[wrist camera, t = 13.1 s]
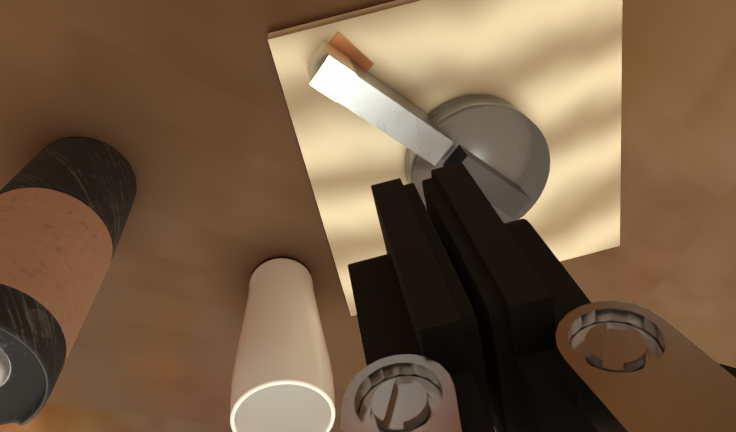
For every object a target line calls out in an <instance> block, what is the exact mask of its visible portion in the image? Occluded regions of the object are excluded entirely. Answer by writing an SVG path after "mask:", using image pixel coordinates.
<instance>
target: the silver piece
mask: <svg viewBox="0 0 736 432" xmlns="http://www.w3.org/2000/svg"><path fill="white" fill-rule="evenodd" d="M306 68H307V74H308V79H309V85H311V86H312V87H314V88H315V89H317V90H318V91H320V92H321V93H323V94H324V95H326V96H328V97H329V98H331V99H332V100H334V101H335V102H338V103H340V104H342V105H343V106H345V107H346V108H348V109H349V110H351V111H352V112H354V113H355V114H357V115H358V116H360V117H361V118H363V119H364V120H366V121H367V122H369V123H370V124H372V125H373V126H375V127H377V128H378V129H380V130H381V131H383V132H384V133H386V134H387V135H389V136H390V137H392V138H393V139H395V140H396V141H398V142H399V143H401V144H402V145H404V146H405V147H407V150H406V155H405V174H406V179H407V182H408V184H410V183H414V184H415V187H416V189H417V191H418V193H419V195H420V197H421V199H422V201H423V203H424V206H425V208H426V203H425V197H424V192H423V186H422V180H425V179H429V178H432V177H431V170H432V169H436V168H440V167H444V166H448V165H452V164H455V163H459V162H462V163H463V164H464V166H465V167H466V169H467V170H468V172H469V173H470V175H471V176H472V177H473V179H474V180H475V182H476V183H477V185H478V186H479V188H480V189H481V191H482V192H483V193H484V195H485V196H486V198H487V199H488V201H489V202H490V204H491V205H492V207H493V208H494V209H495V211H496V212H497V214H498V215H499V217H500V218H501V220H502V221H503V223H508V222H512V221H515V220H519V219H520V218H521V217H523V216H524V215H525V214H526V213H527V212H528V211H529V210H530V209H531V208H532V207H533V206H534V204H535V203H536V202H537V200H538V199H539V197H540V196H541V194H542V192H543V190H544V188H545V185H546V183H547V180H548V176H549V171H550V153H549V148H548V144H547V142H546V139H545V137H544V135H543V134H542V132H541V131H540V129H539V128H538V127H537V126H536V125H535V124H534V123H533V122H532V121H531V120H530V119H529V118H528V117H526V116H525V115H524V114H523V113H522V112H521V111H520V110H519V109H518V108H516V107H515V106H514V105H513V104H511V103H510V102H508V101H506V100H504V99H502V98H499V97H496V96H492V95H485V94H473V95H465V96H462V97H458V98H455V99H452V100H450V101H448V102H446V103H444V104H442V105H440V106H439V107H437V108H436V109H434V110H433V111H432V112H431V113H429V114H428V113H426V112H425V111H423V110H422V109H421V108H419V107H418V106H416V105H415V104H413V103H412V102H410V101H409V100H408V99H406V98H405V97H403V96H402V95H400V94H399V93H398V92H396V91H395V90H393V89H392V88H390V87H389V86H388V85H386V84H385V83H383V82H382V81H380V80H379V79H378V78H376V77H375V76H373V75H372V74H370V73H369V72H368V71H366V70H365V69H363V68H362V67H360V66H359V65H358V64H356V63H355V62H353V61H352V60H350V59H349V57H348V56H346V55H345V54H343V53H342V52H340V51H339V50H338V49H336V48H335V47H333V46H332V45H330V44H329V43H328V42H326V41H325V40H324V41H323V42H322V44H321V45H320V47H319V48H318V50H317V51H316V53H315V54H314V56H313V57H312V59H311V60H310V62H309V63H308V65H307V66H306ZM426 210H427V208H426Z"/></svg>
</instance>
